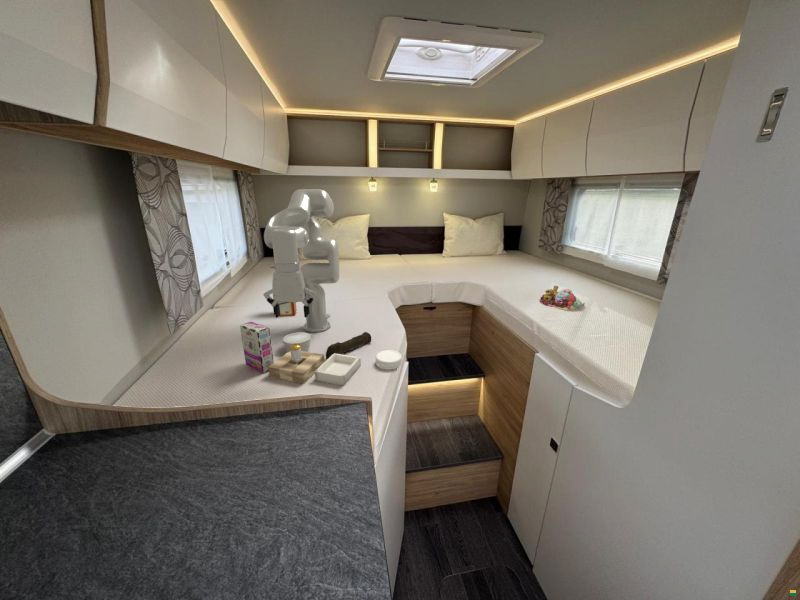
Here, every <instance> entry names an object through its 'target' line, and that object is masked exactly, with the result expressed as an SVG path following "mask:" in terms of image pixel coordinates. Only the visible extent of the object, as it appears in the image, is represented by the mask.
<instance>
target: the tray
mask: <svg viewBox="0 0 800 600" xmlns="http://www.w3.org/2000/svg"><path fill="white" fill-rule="evenodd" d="M361 361H362V359H361V357H359V356H354V355H353V356H352V355H347V354H336V353H334V354H333V355H332V356H330V357H329V358H328V359H327V360H326V359H325V362H324V363H323V364H322V365H321V366H320V367H319V368H318V369H317V370H316V371H315V374H314V380H315V381H317V382H321V383H322V382H323V383H328V384H332V385H338V386H345V385H347V383H348V382H349V381H350V379H351V378H352V377H353V376H354V374H355V373H356V372H357V371H358V370H359V368H360V367H361V365H362V363H361Z"/></svg>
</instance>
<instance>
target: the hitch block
mask: <svg viewBox="0 0 800 600" xmlns="http://www.w3.org/2000/svg"><path fill="white" fill-rule="evenodd" d="M302 361H303V362H302V363H301V364H300V365H297V364H292V357H291V351H289V352H288V351H287V353H285V354H284V355H282V356H281V357H280V358H278V359H277V360H275V361H273V362H274V363H273V364H272V365H270V366H269V367H268V369H269V371H268V375H269V376H268V377H269V378H274V379H279V380H283V381H288V382H289V381H290V382H294V383H299V384H306V383H307V382H308V381H309V380H310V379H311V378H312V377H313V376H315V371H316V370H317V369H318V368H319V367H320V366H321V365H322V364H323V363H324V362H325V361H326V359H325V354H321V353H315V352H311V351H302Z"/></svg>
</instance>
